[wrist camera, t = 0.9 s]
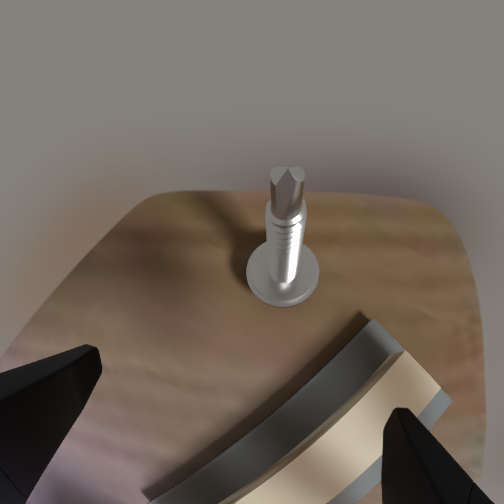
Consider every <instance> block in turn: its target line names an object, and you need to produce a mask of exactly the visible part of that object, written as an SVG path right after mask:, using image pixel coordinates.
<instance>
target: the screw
mask: <svg viewBox="0 0 504 504" xmlns="http://www.w3.org/2000/svg"><path fill="white" fill-rule="evenodd" d="M304 182H305V173H304V170H303V169H302V168H301V167H300V166H295V167H291V168H286V167H283V166H278V167H275V168H273V169H272V170H271V173H270V186H271V199H270V200H269V202H268V203H267V205H266V214H265V219H266V236H267V242H265V243H263V244H261V245H260V246H259V247H258V248H256V250H255V251H254V252H253V253H252V255H251V257H250V258H249V260H248V264H247V269H246V276H247V281H248V285H249V287H250V289H251V291H252V292H253V294H254V295H255V296H256V297H257V298H258V299H259V300H260V301H261V302H263V303H265V304H267V305H269V306H273V307H276V308H289V307H294V306H296V305H299V304H301V303H302V302H304V301H305V300H307V299H308V298H309V297H310V296H311V295H312V293H313V292H314V290H315V288H316V286H317V283H318V280H319V266H318V262H317V260H316V257H315V256H314V254H313V253H312V251H311V250H310V249H309V248H308V247H307V246H305V245H304V244H302V241H303V236H304V230H305V224H306V217H307V211H306V202H305V200H304V198H303V191H304Z"/></svg>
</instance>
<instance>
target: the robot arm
mask: <svg viewBox="0 0 504 504" xmlns="http://www.w3.org/2000/svg"><path fill="white" fill-rule="evenodd" d="M101 373H102V364H101V359H100V354H99V350H98V348H96V347H94V346H91V345H88V344H85V345H82V346H79V347H76V348H74V349H71V350H68V351H65V352H62V353H59V354H56V355H53V356H50V357H47V358H44V359H41V360H38V361H35V362H32V363H29V364H26V365H23V366H20V367H17V368H14V369H11V370H8V371H5V372H2V373H0V504H25V503H26V501H27V499H28V497H29V496H30V494H31V492H32V490H33V489H34V487H35V485H36V484H37V482H38V480H39V479H40V477H41V475H42V474H43V472H44V470H45V469H46V467H47V465H48V464H49V462H50V461H51V459H52V457H53V456H54V454H55V453H56V451H57V449H58V448H59V446H60V445H61V443H62V441H63V440H64V438H65V437H66V435H67V434H68V432H69V430H70V429H71V427H72V426H73V424H74V423H75V421H76V420H77V418H78V417H79V415H80V413H81V412H82V410H83V408H84V407H85V405H86V403H87V401H88V399H89V397H90V395H91V393H92V391H93V389H94V387H95V385H96V383H97V381H98V379H99V377H100V375H101ZM381 484H382V504H494V503H493V502H492V501H491V500H490V499H489V498H488V497H487V496H486V494H485V493H484V492H483V491H482V490H481V489H480V488H479V487H478V486H477V484H476V483H475V482H474V483H473V480H472V479H471V478H470V477H469V475H468V474H467V473H466V472H465V471H464V470H463V469H462V468H461V466H460V465H459V464H458V463H457V462H456V461H455V460H454V459H453V457H452V456H451V455H450V454H449V453H448V452H447V451H446V450H445V448H444V447H443V446H442V445H441V444H440V443H439V442H438V441H437V439H436V438H435V437H434V436H433V435H432V434H431V433H430V432H429V430H428V429H427V428H426V427H425V426H424V425H423V424H422V423H421V422H420V420H419V419H418V418H417V417H416V416H415V415H414V414H413V413H412V411H411V410H410V409H408V408H403V407H396V408H394V409H393V411H392V413H391V415H390V417H389V418H388V420H387V422H386V424H385V426H384V429H383V448H382V468H381Z"/></svg>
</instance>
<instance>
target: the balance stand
mask: <svg viewBox="0 0 504 504" xmlns="http://www.w3.org/2000/svg"><path fill="white" fill-rule="evenodd" d="M451 402H452V399H451V398H450V397H449V396H448V395H447V394H446V393H445V392H444V391H443V390H442V389H441V387H440V386H439V385H438V384H437V383H436V382H435V381H434V380H433V379H432V378H431V376H430V375H429V374H428V373H427V372H426V371H425V370H424V369H423V368H422V367H421V366H420V365H419V364H418V363H417V362H416V361H415V360H414V359H413V358H412V356H411V355H410V354H409V353H408V352H407V351H406V350H404V349H403V348H402V347H401V346H400V344H399V343H398V342H397V341H396V340H395V339H394V338H393V337H392V336H391V335H390V334H389V333H388V332H387V331H386V330H385V329H384V328H383V327H382V326H381V325H380V324H379V323H378V322H377V321H376V320H375V319H374V318H372V319H371V320H370V321H369V322H368V323H367V324H366V325H365V326H364V327H363V328H362V329H361V330H360V331H359V332H358V333H357V334H356V335H355V336H354V337H353V338H352V339H351V340H350V342H349V343H348V344H347V345H346V346H345V347H344V348H343V349H342V350H341V351H340V352H339V353H338V354H337V355H336V356H335V357H334V358H333V359H332V360H330V361H329V362H328V363H327V364H326V365H325V366H324V367H323V368H322V369H321V370H320V371H319V372H318V373H317V374H316V375H315V376H314V377H313V378H312V379H311V380H309V381H308V382H307V383H306V384H305V385H304V386H303V387H302V388H301V389H300V390H298V391H297V392H296V393H295V394H294V395H293V396H292V397H291V398H289V399H288V400H287V401H286V402H285V403H284V404H283V405H281V406H280V407H279V408H278V409H277V410H276V411H274V412H273V413H272V414H271V415H270V416H268V417H267V418H266V419H265V420H264V421H262V422H261V423H260V424H259V425H258V426H256V427H255V428H254V429H253V430H251V431H250V432H249V433H248V434H246V435H245V436H244V437H242V438H241V439H240V440H239V441H237V442H236V443H235V444H233V445H232V446H231V447H229V448H228V449H227V450H225V451H224V452H223V453H221V454H220V455H219V456H217V457H216V458H215V459H213V460H212V461H210V462H209V463H208V464H206V465H205V466H203V467H202V468H200V469H199V470H198V471H196V472H195V473H193V474H192V475H190V476H189V477H187V478H186V479H184V480H183V481H181V482H180V483H178V484H177V485H175V486H174V487H172V488H170V489H169V490H167V491H166V492H164V493H163V494H161V495H159V496H158V497H156V498H154V499H153V500H151V501H150V502H148V503H147V504H355V503H356V502H357V501H358V500H359V499H361V498H362V497H363V496H364V495H365V494H366V493H368V492H369V491H370V490H371V489H372V488H373V487H374V486H375V485H376V484H378V483H379V482H380V481H381V468H382V448H383V429H384V426H385V424H386V422H387V420H388V418H389V417H390V415H391V413H392V411H393V409H394V408H396V407H403V408H408V409H410V410H411V411H412V413H413V414H414V415H415V416H416V417H417V418H418V419H419V420H420V422H421V423H422V424H423V425H424V426H425V427H426V428H427V429H428V430H429V429H430V428H431V427H432V426H433V425H434V424H435V422H436V421H437V420H438V419H439V417H440V416H441V415H442V414H443V412H444V411H445V410H446V409H447V407H448V406H449V405H450V403H451Z"/></svg>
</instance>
